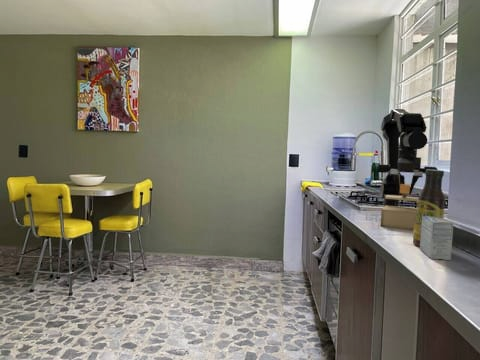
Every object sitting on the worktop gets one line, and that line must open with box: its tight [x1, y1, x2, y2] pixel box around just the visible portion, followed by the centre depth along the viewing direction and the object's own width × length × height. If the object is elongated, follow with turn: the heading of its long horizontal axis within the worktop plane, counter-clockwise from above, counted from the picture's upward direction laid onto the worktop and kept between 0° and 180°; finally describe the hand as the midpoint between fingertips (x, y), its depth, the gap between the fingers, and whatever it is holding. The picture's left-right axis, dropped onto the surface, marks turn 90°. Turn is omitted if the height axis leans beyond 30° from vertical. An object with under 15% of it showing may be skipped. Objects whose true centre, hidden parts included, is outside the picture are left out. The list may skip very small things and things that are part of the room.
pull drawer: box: [385, 183, 419, 202], centre depth 121 cm, size 7×12×5 cm, turn 63°
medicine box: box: [419, 216, 454, 261], centre depth 81 cm, size 8×4×9 cm, turn 168°
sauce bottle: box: [412, 169, 446, 247], centre depth 89 cm, size 6×6×20 cm
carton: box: [380, 205, 417, 231], centre depth 117 cm, size 15×12×6 cm
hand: (404, 194), depth 121 cm, fingers closed on pull drawer, 3 cm apart
